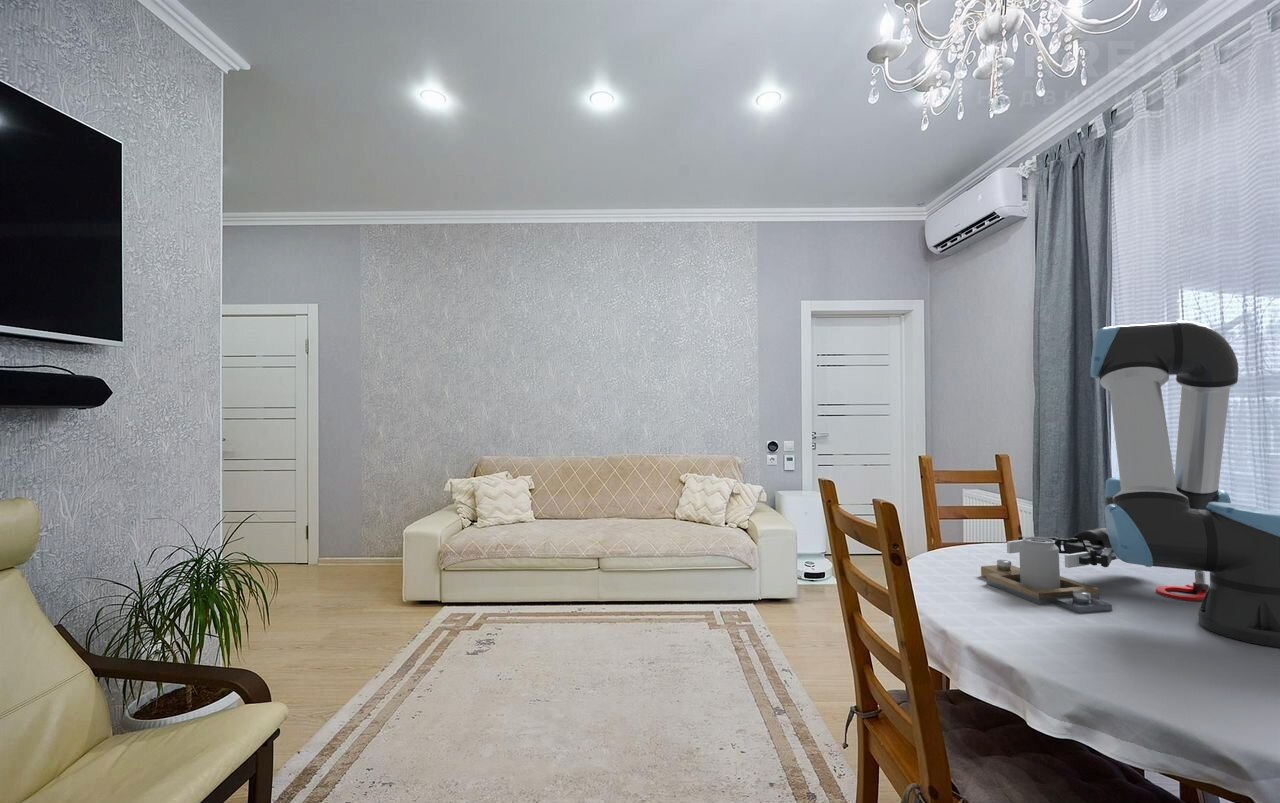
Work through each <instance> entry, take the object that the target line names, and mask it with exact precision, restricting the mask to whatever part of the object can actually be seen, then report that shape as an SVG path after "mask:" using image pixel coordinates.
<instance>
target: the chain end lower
mask: <svg viewBox="0 0 1280 803" xmlns="http://www.w3.org/2000/svg"><path fill="white" fill-rule="evenodd" d="M1013 581H1016V582H1019V583H1020V579H1018V580H1013ZM985 582H986V585H989V586H991V587H993V588H996V589H997V590H998V589H999V590H1001V591H1004V592H1005V593H1009V594H1011V595H1013V596H1016V597H1018V598H1021V599H1023V600H1026V601H1028V602H1031V603H1034V604H1035V605H1036V604H1037V605H1038V606H1040V605H1041V606H1042V605H1052V604H1053V605H1056V606H1059V607H1061V608H1064V609H1066V610H1070V611H1072V612H1074V613H1077V614H1084V613H1098V612H1109V611H1113V604H1111V603H1110V602H1109V603H1108V602H1105V601H1102V600H1100V593H1099V594H1097V595H1091V594H1090V593H1089V592H1085V591H1079V590H1075V591H1073V596H1071V597H1058V598H1046V599H1037V598H1035V597H1032V596H1030V595H1027V594H1024V593H1022V592H1019V591H1017V590H1014V589H1011V588H1009V587H1006V586H1004V585H1001V584H998V583H996V582H993V581H991V580H988V579H986V581H985ZM1060 588H1070V587H1067V586H1064V585H1061V584H1060Z"/></svg>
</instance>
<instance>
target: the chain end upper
mask: <svg viewBox="0 0 1280 803" xmlns="http://www.w3.org/2000/svg"><path fill="white" fill-rule="evenodd" d="M980 576H981V577H982V578H985V577H986V579H988V580H991V581H993V582H996V583H998V584H1001V585H1004V586H1006V587H1009V588H1011V589H1014V590H1017V591H1019V592H1022V593H1024V594H1027V595H1030V596H1032V597H1035V598H1037V599H1046V598H1058V597H1071V596H1073V591H1075V590H1079V591H1085V592H1089V593H1090V594H1091V595H1097V594H1099V595H1100V588H1098V587H1094V586H1091V585H1088V584H1085V583H1082V582H1080V581H1076V580H1073V579H1070V578H1067V577H1064V576H1061V575H1060V584H1061V585H1064V586H1067V587H1070V588H1058V589H1045V590H1038V589H1035V588H1032V587H1030V586H1027V585H1024V584H1021V583H1019V582H1016V581H1013V580H1018V579H1020V566H1015V565H1013V564H1012V561H1011V560H1007V559H997V560H996V565H981V566H980Z"/></svg>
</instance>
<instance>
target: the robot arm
mask: <svg viewBox="0 0 1280 803" xmlns="http://www.w3.org/2000/svg"><path fill="white" fill-rule="evenodd" d="M1089 371H1090V377H1091V378H1092V379H1093V378H1095V379H1099V384H1100V386H1101V387H1102V388H1103V389H1105V390H1106V391H1107V390H1108V391H1109V394H1110V395H1109V396H1110V404H1111V405H1110V406H1111V412H1112V414H1111V415H1112V420H1113V421H1112V422H1113V432H1114V439H1115V448H1116V456H1117V465H1118V473H1119V474H1118V475H1119V477H1118V476H1117V477H1116V476H1114V477H1109V478H1107V479H1106V480H1105V485H1104V486H1105V489H1104V491H1105V494H1104V500H1105V504H1104V505H1105V507H1104V520H1105V527H1101V528H1094V529H1089V530H1082V531H1079V532H1078V533H1076V534H1075V535H1074V537H1069V538H1061V536H1059V535H1058V536H1040V537H1041V538H1047V539H1052V540H1054V541H1055V543H1054V544H1055V545H1056V546H1057V547H1058V548H1059V554H1064V568H1067V569H1070V568H1078V567H1085V566H1089V565H1091V566H1098V564H1099V565H1101V567H1103V568H1108V567H1109V566H1110V564H1111V562H1112V561H1114V560H1120V561H1122V562H1123V563H1126V564H1130V565H1131V564H1132V565H1137V566H1138V565H1140V566H1144V567H1146V568H1152V567H1154V568H1155V567H1159V568H1167V569H1179V570H1190V571H1196V570H1198V571H1203V572H1209V588H1208V590H1207V592H1206V595H1205V597H1204V599H1203V600H1202V601H1201V604H1200V607H1199V609H1198V614H1197V615H1198V616H1197V617H1198V623H1199V625H1200V626H1201V627H1203V628H1205V629H1206V630H1208V631H1210V632H1213V633H1215V634H1218V635H1221V636H1224V637H1227V638H1231V639H1234V640H1238V641H1242V642H1245V643H1246V642H1247V643H1252V644H1256V645H1261V646H1267V647H1275V648H1280V511H1276V510H1271V509H1267V508H1262V507H1257V506H1251V505H1243V504H1237V503H1232V501H1231V497H1230V495H1229V493H1228V492H1227V491H1226V490H1222V489H1220V477H1221V470H1222V469H1221V467H1222V460H1223V459H1222V458H1223V453H1224V451H1223V450H1224V444H1225V434H1226V424H1227V418H1228V410H1229V400H1230V393H1231V392H1230V391H1231V387H1234V386H1235V385H1237V383H1238V378H1239V362H1238V359H1237V356H1236V354H1235V351H1234V350H1233V348H1232V346H1231V345H1230V343H1229V342H1228V341H1227V340H1226V339H1225V337H1224V336H1222V335H1221V333H1219V332H1218V331H1216V330H1215V329H1213V328H1211V327H1209V326H1207V325H1206V324H1202V323H1200V322H1195V321H1190V320H1189V321H1188V320H1178V321H1172V322H1171V321H1169V322H1155V323H1154V322H1152V323H1143V324H1129V325H1123V324H1118V325H1115V326H1114V325H1113V326H1105V327H1101V328H1099V329H1098V330H1097V331H1096V332H1095V335H1094V339H1093V344H1092V350H1091V359H1090V370H1089ZM1173 375H1174V376H1176V377H1175V378H1176V380H1175V382H1176V383H1177V384H1179V385H1180V386H1181V390H1180V391H1181V392H1180V404H1179V416H1178V430H1177V439H1176V441H1177V442H1176V452H1175V454H1176V455H1175V464H1174V463H1173V458H1172V457H1173V456H1172V452H1171V444H1170V439H1169V432H1168V426H1167V418H1166V413H1165V406H1164V400H1163V394H1162V386H1164V385H1165V384H1166V383H1167V382H1168V381H1169V379H1170V377H1169V376H1173ZM1173 464H1174V465H1175V466H1174V465H1173ZM1024 537H1025V536H1018V538H1017V539H1016V540H1010V541H1006V554H1017V553H1019V544H1020V543H1021V542H1023V538H1024ZM1062 548H1063V549H1062Z"/></svg>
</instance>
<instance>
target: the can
mask: <svg viewBox="0 0 1280 803" xmlns="http://www.w3.org/2000/svg"><path fill="white" fill-rule="evenodd" d="M1023 537H1024V538H1023V542H1021V543H1020V544H1019V552H1018V553H1019V568H1020V583H1021V584H1024V585H1027V586H1030V587H1032V588H1035V589H1038V590H1045V589H1058V588H1060V576H1061V573H1060V572H1061V571H1060V570H1061V569H1060V553H1059V548H1058V547H1057V546H1056V545H1055V544H1054V543H1055V541H1054V540H1052V539H1047V538H1041V537H1042V536H1023Z"/></svg>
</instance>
